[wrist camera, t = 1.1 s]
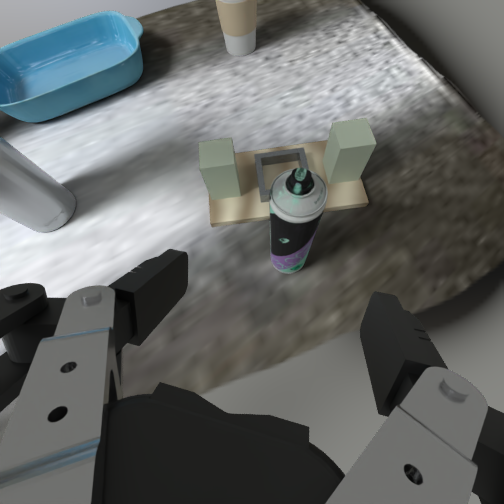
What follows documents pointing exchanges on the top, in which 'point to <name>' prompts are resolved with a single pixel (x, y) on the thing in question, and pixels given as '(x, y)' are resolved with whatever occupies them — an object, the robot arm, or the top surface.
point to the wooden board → (249, 201)
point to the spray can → (294, 216)
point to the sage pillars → (335, 158)
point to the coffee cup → (238, 25)
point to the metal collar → (277, 158)
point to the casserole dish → (70, 66)
